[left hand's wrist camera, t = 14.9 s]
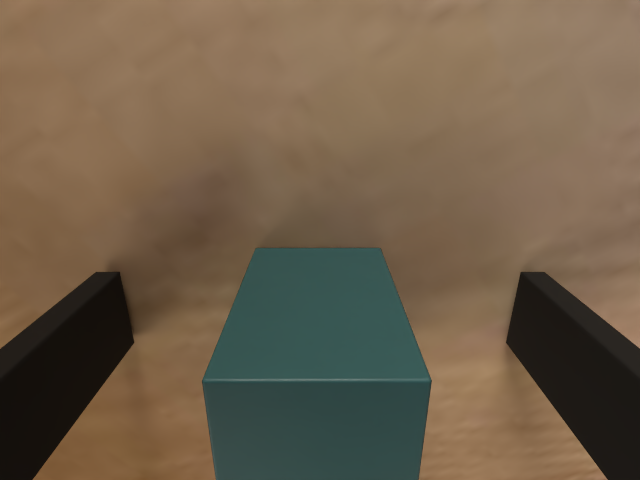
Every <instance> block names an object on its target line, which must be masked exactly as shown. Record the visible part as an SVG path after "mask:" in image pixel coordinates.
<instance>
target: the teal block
mask: <svg viewBox="0 0 640 480" xmlns="http://www.w3.org/2000/svg"><path fill="white" fill-rule="evenodd" d="M431 382H432V380H431V378H430V375H429V373H428V370H427V367H426V365H425V362H424V360H423V357H422V354H421V352H420V349H419V347H418V344H417V341H416V339H415V336H414V334H413V331H412V329H411V326H410V323H409V321H408V318H407V316H406V313H405V310H404V308H403V305H402V303H401V300H400V297H399V295H398V292H397V290H396V287H395V284H394V282H393V279H392V277H391V274H390V272H389V269H388V266H387V264H386V261H385V259H384V256H383V253H382V251H381V248H256V249H255V251H254V254H253V256H252V259H251V261H250V263H249V266H248V268H247V271H246V273H245V276H244V278H243V281H242V283H241V286H240V288H239V291H238V293H237V296H236V298H235V301H234V303H233V306H232V308H231V310H230V313H229V315H228V318H227V320H226V323H225V325H224V328H223V330H222V333H221V335H220V338H219V340H218V343H217V345H216V348H215V350H214V353H213V355H212V357H211V360H210V362H209V365H208V367H207V370H206V372H205V375H204V377H203V380H202V384H203V391H204V398H205V405H206V413H207V420H208V427H209V434H210V441H211V448H212V455H213V462H214V469H215V476H216V480H419V472H420V465H421V457H422V450H423V442H424V435H425V427H426V420H427V412H428V405H429V397H430V390H431Z"/></svg>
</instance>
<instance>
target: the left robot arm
mask: <svg viewBox="0 0 640 480" xmlns="http://www.w3.org/2000/svg"><path fill="white" fill-rule="evenodd" d="M506 343H507V344H508V346H509V347H510V348H511V350H512V351H513V353H514V354H515V355H516V357H517V358H518V359H519V361H520V362H521V363H522V365H523V366H524V367H525V369H526V370H527V371H528V373H529V374H530V375H531V377H532V378H533V379H534V381H535V382H536V384H537V385H538V386H539V388H540V389H541V390H542V392H543V393H544V394H545V396H546V397H547V398H548V400H549V401H550V402H551V404H552V405H553V406H554V408H555V409H556V410H557V412H558V413H559V414H560V416H561V417H562V419H563V420H564V421H565V423H566V424H567V425H568V427H569V428H570V429H571V431H572V432H573V433H574V435H575V436H576V437H577V439H578V440H579V441H580V443H581V444H582V445H583V447H584V448H585V450H586V451H587V452H588V454H589V455H590V456H591V458H592V459H593V460H594V462H595V463H596V464H597V466H598V467H599V468H600V470H601V471H602V472H603V474H604V475H605V476H606V478H607V479H608V480H640V348H638V347H637V346H636V345H635V344H633V343H632V342H631V341H630V340H628V339H627V338H626V337H625V336H623V335H622V334H621V333H620V332H618V331H617V330H616V329H615V328H613V327H612V326H611V325H610V324H608V323H607V322H606V321H605V320H603V319H602V318H601V317H600V316H598V315H597V314H596V313H595V312H593V311H592V310H591V309H590V308H588V307H587V306H586V305H585V304H583V303H582V302H581V301H580V300H578V299H577V298H576V297H575V296H573V295H572V294H571V293H570V292H568V291H567V290H566V289H565V288H563V287H562V286H561V285H560V284H559V283H557V282H556V281H555V280H554V279H552V278H551V277H550V276H549V275H547V274H546V273H545V272H521V274H520V279H519V283H518V288H517V293H516V298H515V302H514V307H513V312H512V317H511V322H510V326H509V331H508V336H507V341H506ZM133 344H134V339H133V334H132V329H131V325H130V320H129V315H128V310H127V306H126V301H125V296H124V291H123V286H122V282H121V277H120V272H96V273H94V274H93V275H92V276H91V277H89V278H88V279H87V280H86V281H84V282H83V283H82V284H81V285H79V286H78V287H77V288H76V289H74V290H73V291H72V292H71V293H69V294H68V295H67V296H66V297H64V298H63V299H62V300H61V301H59V302H58V303H57V304H56V305H54V306H53V307H52V308H51V309H49V310H48V311H47V312H46V313H44V314H43V315H42V316H41V317H39V318H38V319H37V320H36V321H34V322H33V323H32V324H31V325H29V326H28V327H27V328H26V329H25V330H23V331H22V332H21V333H20V334H18V335H17V336H16V337H15V338H13V339H12V340H11V341H10V342H8V343H7V344H6V345H5V346H3V347H2V348H1V349H0V480H33V478H34V477H35V476H36V474H37V473H38V471H39V470H40V469H41V467H42V466H43V465H44V463H45V462H46V461H47V459H48V458H49V457H50V455H51V454H52V453H53V451H54V450H55V449H56V447H57V446H58V445H59V443H60V442H61V441H62V439H63V438H64V436H65V435H66V434H67V432H68V431H69V430H70V428H71V427H72V426H73V424H74V423H75V422H76V420H77V419H78V418H79V416H80V415H81V414H82V412H83V411H84V410H85V408H86V407H87V405H88V404H89V403H90V401H91V400H92V399H93V397H94V396H95V395H96V393H97V392H98V391H99V389H100V388H101V387H102V385H103V384H104V383H105V381H106V380H107V379H108V377H109V376H110V375H111V373H112V372H113V370H114V369H115V368H116V366H117V365H118V364H119V362H120V361H121V360H122V358H123V357H124V356H125V354H126V353H127V352H128V350H129V349H130V348H131V346H132V345H133Z"/></svg>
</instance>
